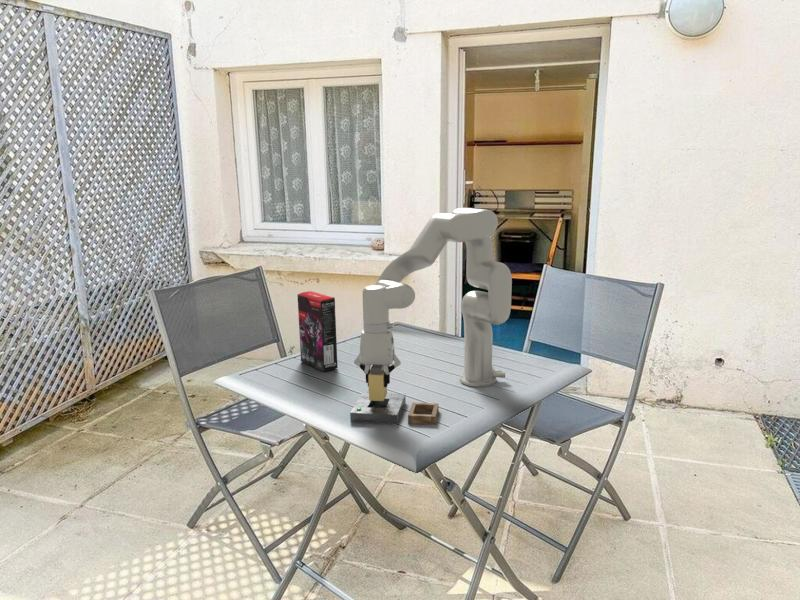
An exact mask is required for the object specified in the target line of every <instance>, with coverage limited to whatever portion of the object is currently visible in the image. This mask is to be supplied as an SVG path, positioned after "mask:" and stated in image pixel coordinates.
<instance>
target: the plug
mask: <svg viewBox="0 0 800 600" xmlns="http://www.w3.org/2000/svg"><path fill="white" fill-rule="evenodd" d="M370 370H371V372H370V373H369V375H368V382H369V387H368V393H369V400H370V401H384V399H385V397H386V395H387V393H388V386H387V387H384V374H385V370H384V366H383V365H371V367H370Z"/></svg>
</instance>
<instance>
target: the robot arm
mask: <svg viewBox="0 0 800 600" xmlns="http://www.w3.org/2000/svg"><path fill="white" fill-rule="evenodd" d="M498 221H499V220H498V217H497V215H496V213H495V212H493V210H490V209H488V208H487V209H486V208H474V207H457V208H456V209H454V210H453V211H452V212H451V213H450V212H438V213H435V214H433V215H432V216H431V217H430V218H429V219H428V221H427V223H426V224H425V225H424V227H423V228H422V230H421V232H420V233H419V234H418V236H417V237H416V239H415V240H414V242H413V243H412V245H411V247H409V249H407V250H406V251H405V252H403V253H402V254H400V255H399V256H398V257H396V258H395V259H394V260H392V261H391V262H390V263H389V264H388V265H386V267H385V268H384V269H383V271H382V272H381V274H380V276H379V277H378V279H377V280H376V282H375V284H371V285H367V286H365V287H364V288H363V290H362V318H363V319H362V321H363V329H362V330H361V335H360V339H359V340H360V341H359V342H360V343H359V354H358V355H357V356H356V358H355V359H354V361H353V364H354V365H356V366H357V367H359V368H360V369H361V370H362V371H363V373H364V375H365V383H366V384H367V387H368V388H369V382H368V375H369V373H370V372H371V367H372V365H383V366H384V370H385V374H384V387H387V388H388V385H389V384H390V383H391V382H390V381H391V377H390V374H391V373H392V371H394V369H396V368H398V367H399V366H401V364H402V362H401V360H400V359H399V358H398V356H397V355H396V352H395V341H394V334H393V331H392V329H394V328H395V327H394V326H395V325H394V323H392V322H390V316H389V315H390V314H389V313H390V312H389V311H390V309H392V310H396V309H397V310H398V309H399V310H400V309H401V310H402V309H407V308H409V307H410V306H412V304H413V303H414V302H415V299H416V292H415V290H414V288H413V287H412V286H410V285H409V284H406V283H403V282H402V281H403V279H405V278H406V277H407V276H409V275H410V274H413V273H414V272H417V271H420V270H423V269H426V268H428V267H431V266H433V264H434V263H435V262H436V261H437V259H438V258H439V255H440V254H441V252H442V251H443V250H444V248H445V247H446V245H447V243H448V242H451V243H465V245H466V246H465V247H466V266H465V267H466V272H465V273H466V275H465V276H466V281H467V283H468V284H469V285H470V286H472V287H474V288H478V289H483V290H487V291H488V292H486V291H481V290H470V291H468V292H467V293H465V295H464V296H463V297H462V299H461V300H462V301H461V303H460V304H461V305H460V307H461V314H462V317H463V329H464V330H463V332H464V333H463V335H464V337H463V338H464V339H463V343H464V345H463V349H464V350H463V351H464V355H463V357H464V358H463V361H464V363H463V366H464V367H463V371H464V372H463V373H462V374H460V376H459V381H460V383H462V384H464V385H466V386H470V387H478V388H479V387H480V388H483V387H489V386H492V385H494V384H495V383H497V378H503V379H505V378H506V372H505V371H503V370H501V369H499V370H497V369H494V366H493V336H494V335H493V327H492V325H497V326H498V325H502V324H505V322H506V321H507V320H509V318H510V315H511V308H512V287H513V286H512V284H513V280H512V279H513V276H512V273H511V269H510V268H509V267H508V266H507V264H505V263H503V262H499V261H495V260H494V258H493V255H494V254H493V243H492V242H493V240H492V239H491V235H493V234H494V233H495V231H496V230H497V228H498V223H499V222H498ZM393 362H394V363H393Z"/></svg>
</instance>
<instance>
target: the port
mask: <svg viewBox="0 0 800 600" xmlns="http://www.w3.org/2000/svg"><path fill="white" fill-rule="evenodd" d="M406 399H407V398H406V393H392V392H391V393H389V392H387V395H386V397H385V399H384V401H370V400H369V391H368V392H365V391H364V392H363V391H362V392H361V394H360V396H359V397H358V399H357V401H356V402H355V404H354V405H353V407H352V409H351V411H350V412H349V417H350V418H349V419H350V420H349V421H350V423H355V424H356V423H358V424H360V423H361V424H362V423H363V424H379V425H398V423H399V421H400V418H401V416H402V413H403V410H404V409H405V405H406V403H407V402H406Z"/></svg>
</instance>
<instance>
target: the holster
mask: <svg viewBox="0 0 800 600" xmlns="http://www.w3.org/2000/svg"><path fill="white" fill-rule="evenodd" d="M439 409H440V408H439V403H435V402H434V403H433V402H411V406H410V408H409V411H408V414H407V423H408V424H415V425H432V426H433V425H436V423H437V420H438V415H439ZM417 413H418V414H417ZM420 413H421V414H420ZM422 413H423V414H422ZM424 413H431V414H424Z"/></svg>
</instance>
